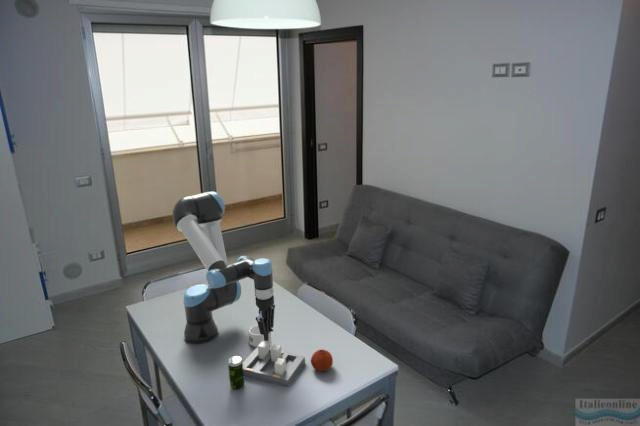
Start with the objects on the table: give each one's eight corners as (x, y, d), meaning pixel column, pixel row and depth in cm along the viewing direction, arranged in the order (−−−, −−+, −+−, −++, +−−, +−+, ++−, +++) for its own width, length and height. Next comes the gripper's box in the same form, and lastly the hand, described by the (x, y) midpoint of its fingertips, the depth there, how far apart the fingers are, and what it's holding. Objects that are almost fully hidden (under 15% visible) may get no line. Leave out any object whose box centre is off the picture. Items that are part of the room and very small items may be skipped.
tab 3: (275, 376, 177) (274, 363, 175) (279, 370, 180) (278, 357, 179) (282, 378, 176) (281, 364, 174) (286, 372, 179) (285, 359, 178)
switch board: (238, 374, 181) (238, 367, 181) (258, 352, 196) (258, 345, 195) (287, 386, 173) (287, 379, 172) (304, 362, 187) (304, 356, 187)
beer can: (238, 380, 178) (235, 354, 174) (247, 385, 175) (245, 359, 171) (227, 387, 174) (224, 360, 170) (236, 393, 171) (233, 366, 167)
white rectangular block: (258, 358, 189) (257, 346, 187) (262, 353, 192) (262, 341, 190) (265, 359, 188) (264, 347, 186) (269, 355, 191) (268, 342, 189)
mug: (274, 341, 204) (273, 329, 202) (257, 350, 197) (256, 338, 195) (258, 331, 212) (257, 319, 210) (241, 339, 205) (240, 328, 204)
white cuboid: (271, 361, 187) (270, 348, 185) (275, 356, 190) (274, 344, 188) (277, 362, 185) (277, 350, 184) (281, 358, 189) (281, 345, 187)
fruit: (311, 361, 188) (310, 345, 186) (332, 361, 188) (332, 345, 185) (310, 375, 180) (309, 358, 177) (332, 375, 179) (332, 358, 177)
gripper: (265, 304, 178) (268, 356, 185) (279, 290, 190) (282, 339, 197) (248, 301, 181) (252, 352, 188) (264, 287, 193) (267, 336, 199)
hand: (268, 345), depth 192 cm, fingers closed
